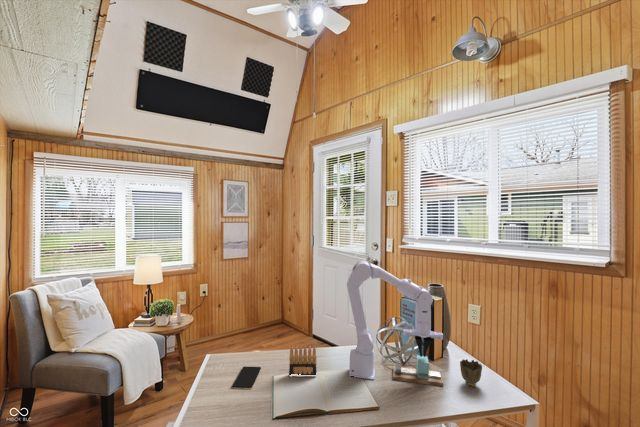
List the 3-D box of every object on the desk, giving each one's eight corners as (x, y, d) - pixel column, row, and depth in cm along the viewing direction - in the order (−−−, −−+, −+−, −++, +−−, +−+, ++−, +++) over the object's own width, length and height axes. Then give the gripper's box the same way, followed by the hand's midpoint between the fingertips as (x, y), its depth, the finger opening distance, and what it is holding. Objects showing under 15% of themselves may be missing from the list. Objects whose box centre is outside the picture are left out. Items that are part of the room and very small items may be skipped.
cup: (460, 388, 114) (460, 366, 114) (459, 378, 121) (459, 357, 121) (483, 392, 111) (483, 370, 111) (480, 382, 118) (480, 360, 118)
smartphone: (231, 386, 112) (243, 366, 127) (231, 389, 112) (243, 368, 127) (251, 387, 112) (261, 366, 127) (251, 390, 112) (261, 369, 127)
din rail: (394, 373, 121) (394, 369, 121) (394, 367, 126) (394, 363, 126) (441, 379, 117) (441, 375, 117) (439, 373, 122) (439, 368, 122)
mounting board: (393, 379, 120) (393, 376, 120) (393, 368, 128) (393, 365, 128) (443, 386, 115) (443, 382, 115) (440, 374, 124) (440, 371, 124)
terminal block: (417, 378, 118) (417, 362, 118) (416, 370, 124) (416, 355, 124) (428, 380, 117) (429, 364, 117) (427, 371, 123) (427, 356, 123)
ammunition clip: (288, 377, 121) (289, 346, 121) (289, 374, 122) (289, 344, 122) (316, 377, 121) (316, 346, 121) (316, 374, 123) (316, 344, 123)
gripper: (403, 322, 119) (403, 358, 119) (444, 326, 116) (444, 362, 116) (403, 316, 126) (403, 350, 126) (441, 319, 122) (441, 354, 122)
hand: (422, 355), depth 121 cm, fingers closed
